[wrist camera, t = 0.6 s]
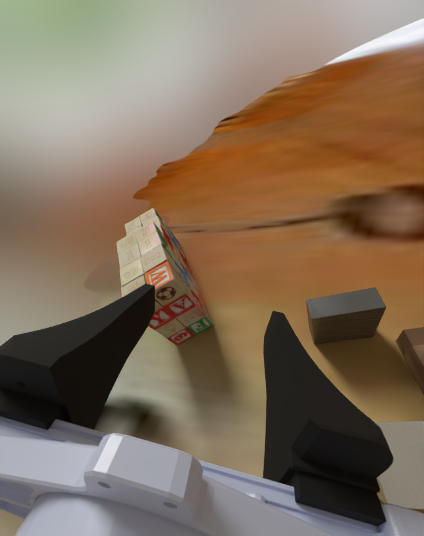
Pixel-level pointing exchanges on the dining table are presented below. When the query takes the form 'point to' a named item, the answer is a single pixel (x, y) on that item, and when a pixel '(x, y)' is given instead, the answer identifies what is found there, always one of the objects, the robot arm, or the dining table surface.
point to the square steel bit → (404, 465)
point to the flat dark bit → (345, 315)
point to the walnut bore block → (413, 352)
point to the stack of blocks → (162, 277)
